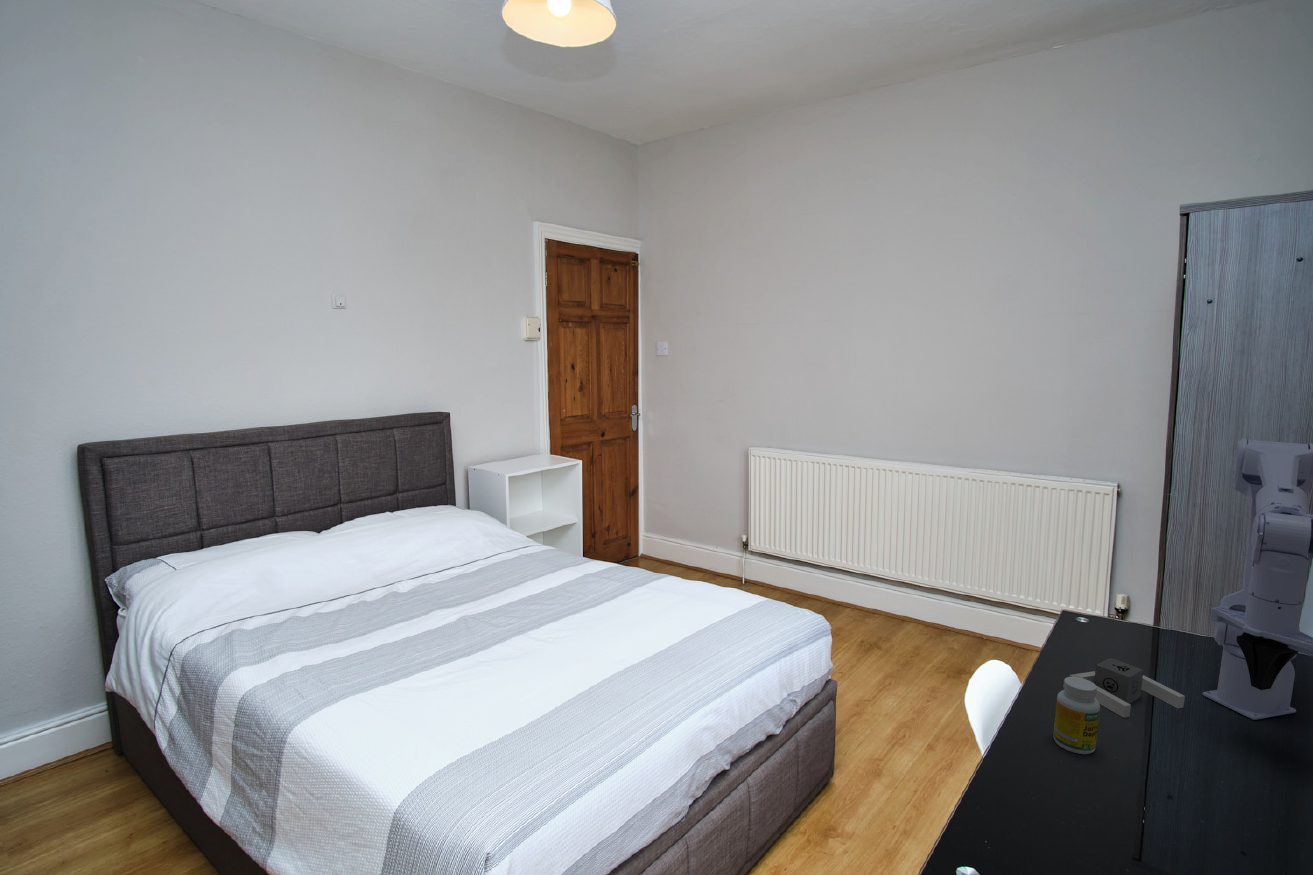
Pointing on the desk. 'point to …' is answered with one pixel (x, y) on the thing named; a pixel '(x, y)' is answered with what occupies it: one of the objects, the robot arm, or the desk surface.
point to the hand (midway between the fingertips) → (1260, 687)
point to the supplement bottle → (1077, 716)
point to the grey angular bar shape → (1147, 686)
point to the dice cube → (1119, 679)
